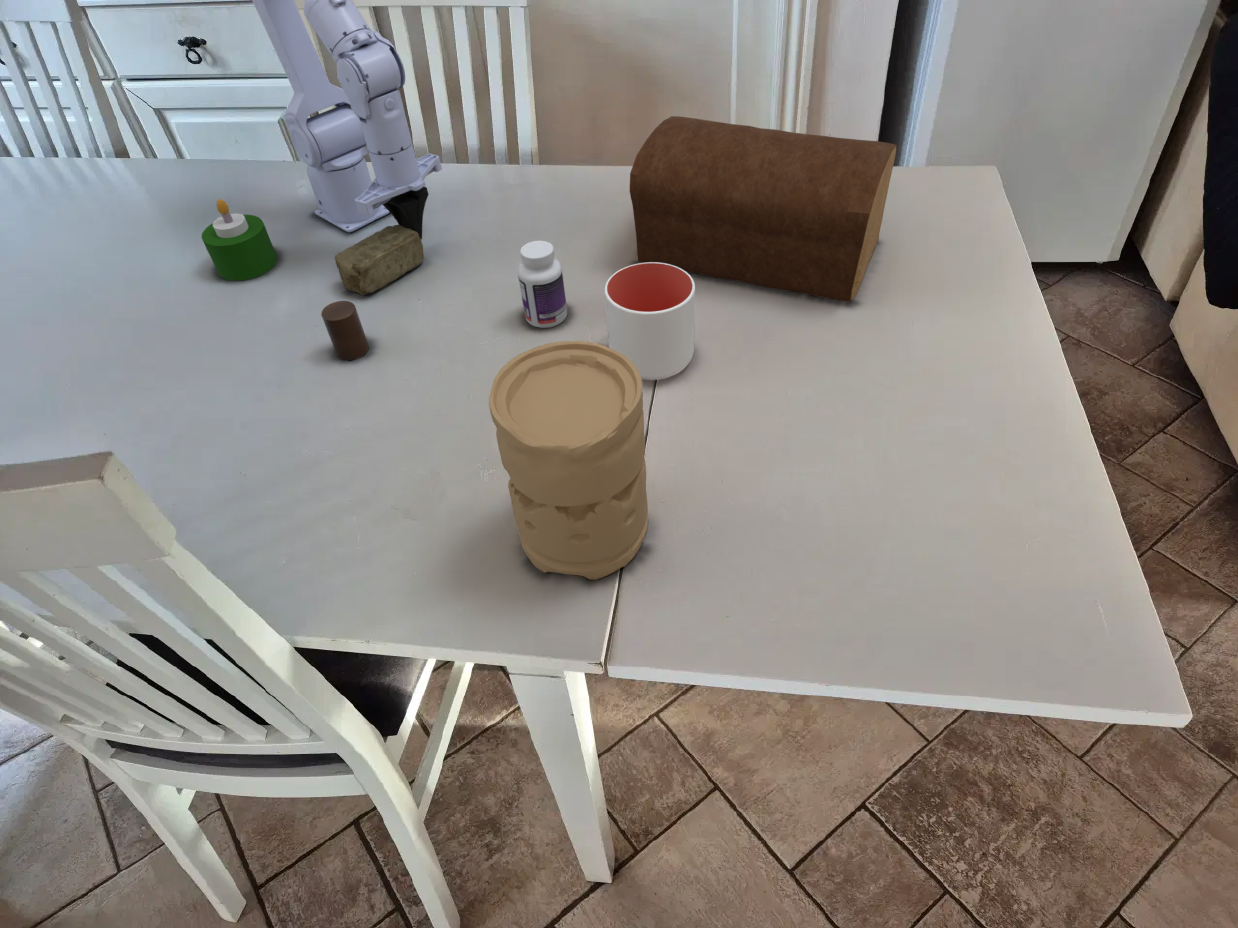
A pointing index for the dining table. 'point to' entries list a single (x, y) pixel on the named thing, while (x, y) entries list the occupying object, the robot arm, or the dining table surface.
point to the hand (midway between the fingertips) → (414, 238)
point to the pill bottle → (541, 285)
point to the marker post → (345, 330)
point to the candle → (239, 245)
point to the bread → (760, 204)
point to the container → (573, 455)
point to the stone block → (379, 259)
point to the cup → (652, 317)
